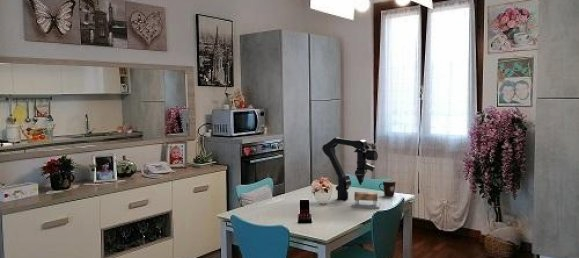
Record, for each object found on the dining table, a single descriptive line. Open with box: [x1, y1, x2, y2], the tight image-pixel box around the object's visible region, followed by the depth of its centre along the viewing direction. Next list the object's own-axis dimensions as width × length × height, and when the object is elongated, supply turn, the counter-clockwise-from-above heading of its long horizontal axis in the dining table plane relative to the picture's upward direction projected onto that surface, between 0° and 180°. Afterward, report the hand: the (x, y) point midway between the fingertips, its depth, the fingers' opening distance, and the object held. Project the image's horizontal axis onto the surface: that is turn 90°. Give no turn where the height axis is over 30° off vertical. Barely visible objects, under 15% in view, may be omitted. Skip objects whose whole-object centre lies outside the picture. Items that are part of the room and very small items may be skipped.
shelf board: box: [353, 191, 378, 202], centre depth 281 cm, size 14×6×4 cm, turn 79°
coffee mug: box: [378, 179, 397, 197], centre depth 310 cm, size 12×9×10 cm
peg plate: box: [350, 200, 381, 210], centre depth 281 cm, size 17×10×4 cm, turn 75°
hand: (361, 183), depth 291 cm, fingers open, 9 cm apart
